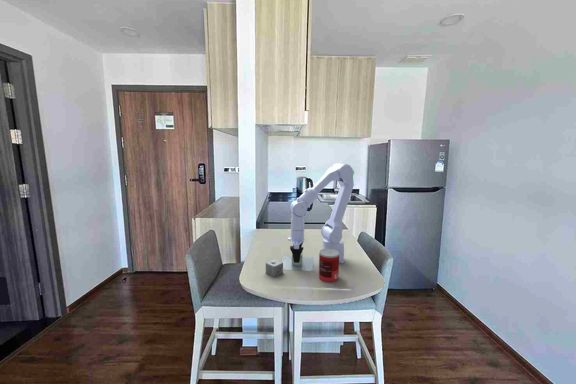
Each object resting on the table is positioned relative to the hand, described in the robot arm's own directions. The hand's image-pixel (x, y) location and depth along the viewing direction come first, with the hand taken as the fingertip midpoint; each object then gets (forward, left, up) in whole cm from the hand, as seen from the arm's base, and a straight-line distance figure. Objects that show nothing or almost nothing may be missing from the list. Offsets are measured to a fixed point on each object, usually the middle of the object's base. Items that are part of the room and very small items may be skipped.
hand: (297, 258), depth 119 cm
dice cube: (+9, +10, -3) cm, 14 cm away
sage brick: (0, 0, -2) cm, 2 cm away
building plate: (0, 0, -3) cm, 3 cm away
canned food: (-13, +12, -3) cm, 18 cm away
